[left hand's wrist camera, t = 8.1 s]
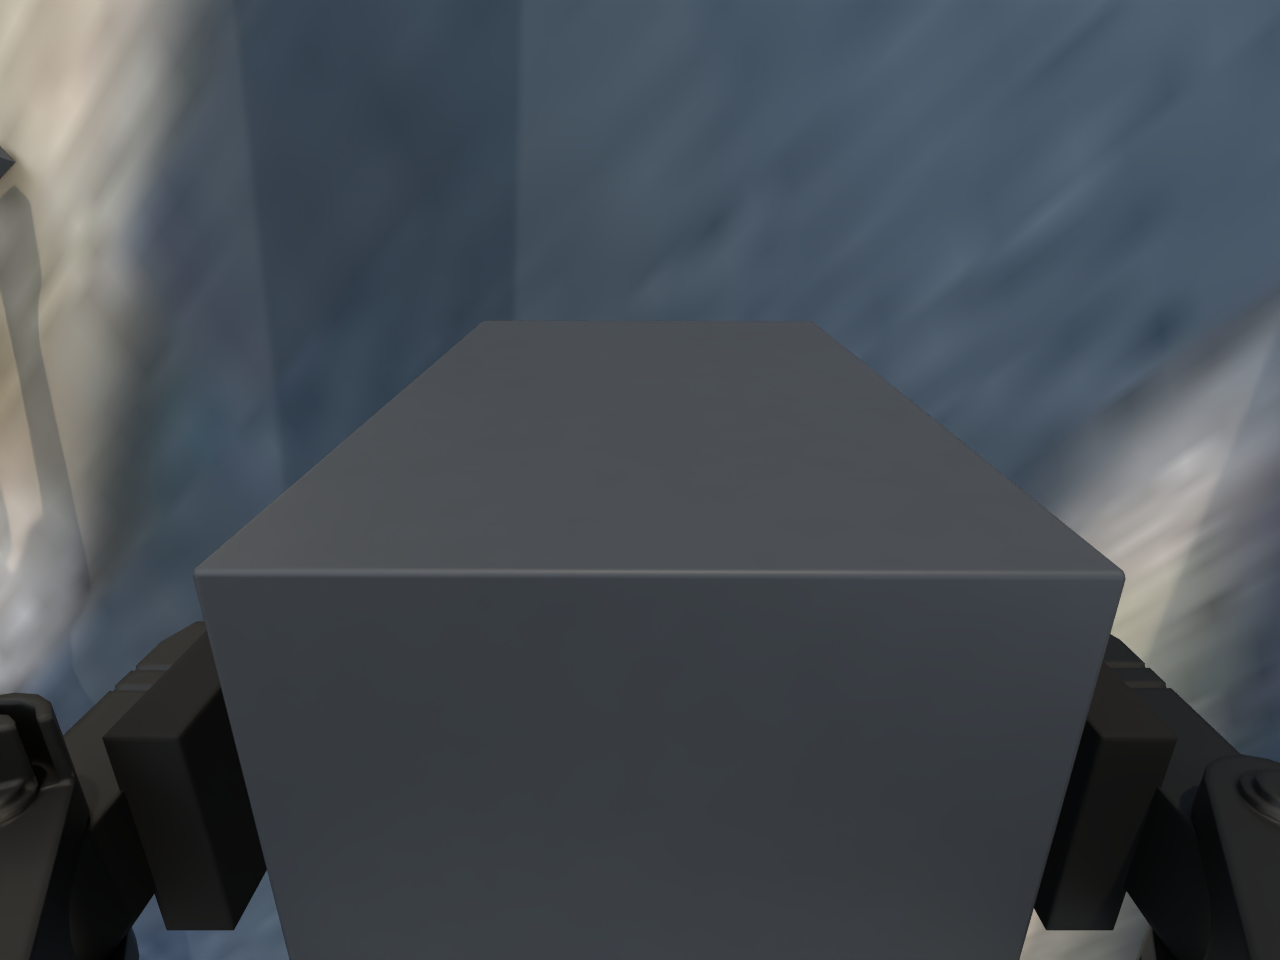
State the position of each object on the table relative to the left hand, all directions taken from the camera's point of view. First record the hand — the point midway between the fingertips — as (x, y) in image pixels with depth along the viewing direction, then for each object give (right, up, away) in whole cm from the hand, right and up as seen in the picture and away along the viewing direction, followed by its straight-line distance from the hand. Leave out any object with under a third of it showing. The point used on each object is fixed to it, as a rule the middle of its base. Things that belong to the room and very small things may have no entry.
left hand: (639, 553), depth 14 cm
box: (0, -8, +5) cm, 10 cm away
